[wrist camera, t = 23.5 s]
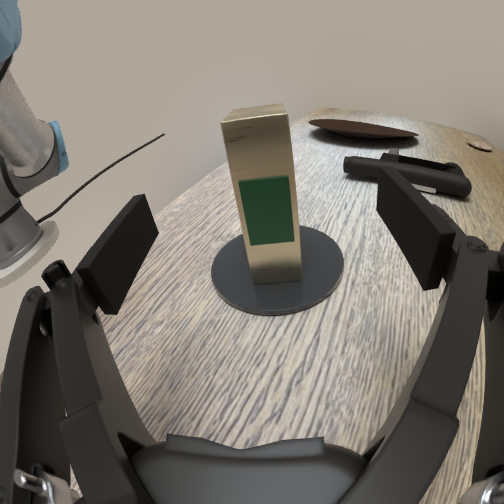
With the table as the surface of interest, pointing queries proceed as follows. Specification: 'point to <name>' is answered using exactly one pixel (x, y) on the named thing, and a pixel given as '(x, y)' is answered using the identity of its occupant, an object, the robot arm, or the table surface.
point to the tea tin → (265, 190)
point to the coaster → (282, 293)
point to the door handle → (413, 172)
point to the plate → (360, 129)
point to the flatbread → (479, 145)
